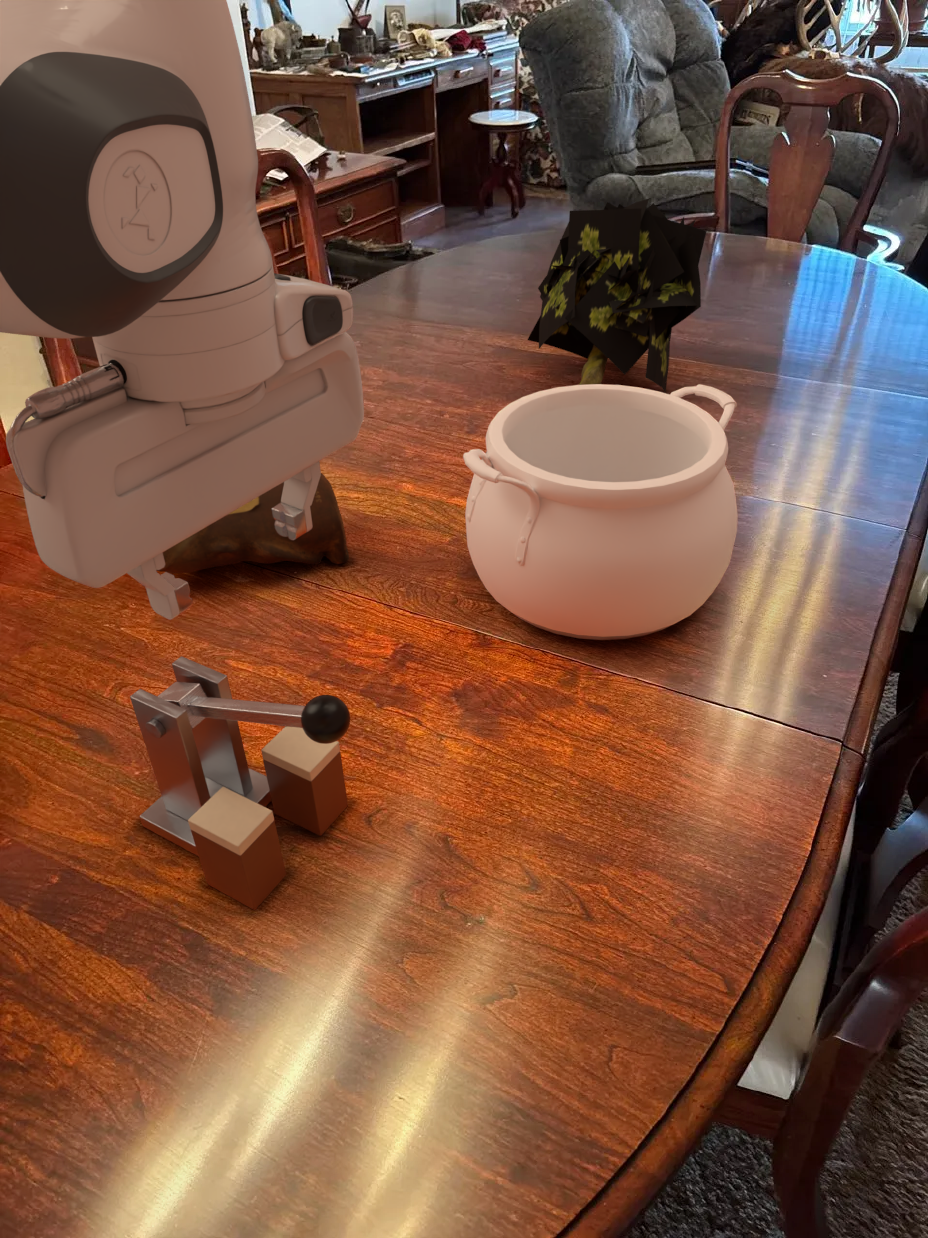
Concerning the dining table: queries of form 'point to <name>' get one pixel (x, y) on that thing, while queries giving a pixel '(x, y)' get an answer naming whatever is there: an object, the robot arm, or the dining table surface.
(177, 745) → the bracket
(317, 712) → the black ball knob lever
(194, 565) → the dark brown bag
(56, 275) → the robot arm
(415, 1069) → the dining table surface
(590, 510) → the pot
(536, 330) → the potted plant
